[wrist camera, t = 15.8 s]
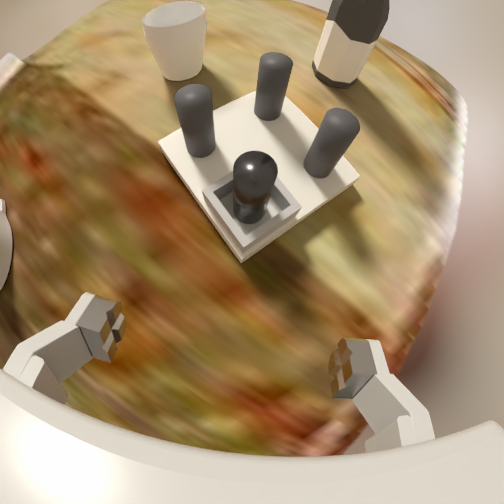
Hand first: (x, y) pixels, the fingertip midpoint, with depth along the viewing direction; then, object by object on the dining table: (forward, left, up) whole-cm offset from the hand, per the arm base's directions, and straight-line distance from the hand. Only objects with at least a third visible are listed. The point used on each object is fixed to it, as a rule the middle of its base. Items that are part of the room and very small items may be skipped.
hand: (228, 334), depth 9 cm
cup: (-15, +36, -21) cm, 44 cm away
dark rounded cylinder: (0, +12, -18) cm, 22 cm away
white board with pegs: (0, +19, -21) cm, 28 cm away
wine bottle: (+10, +41, -21) cm, 47 cm away
